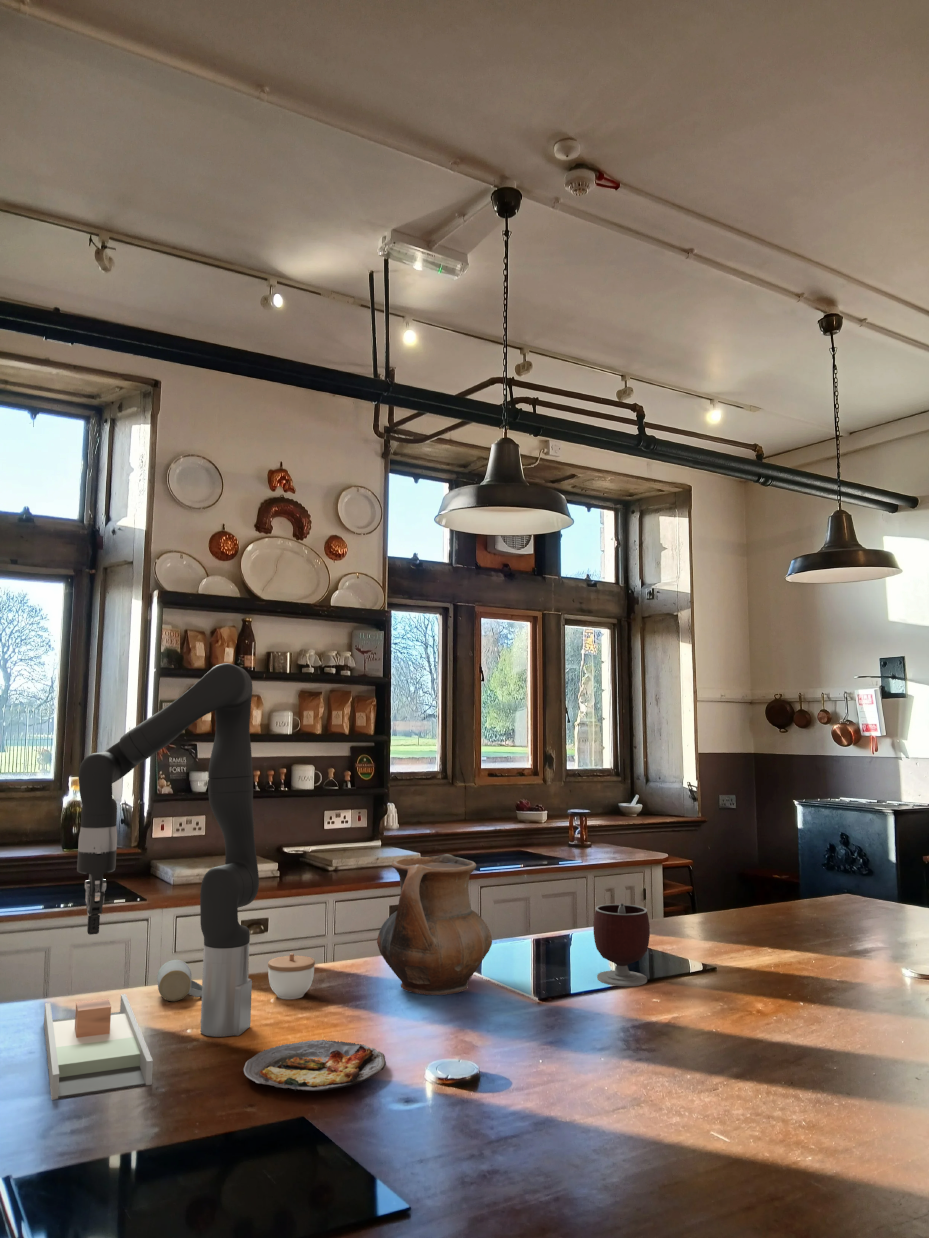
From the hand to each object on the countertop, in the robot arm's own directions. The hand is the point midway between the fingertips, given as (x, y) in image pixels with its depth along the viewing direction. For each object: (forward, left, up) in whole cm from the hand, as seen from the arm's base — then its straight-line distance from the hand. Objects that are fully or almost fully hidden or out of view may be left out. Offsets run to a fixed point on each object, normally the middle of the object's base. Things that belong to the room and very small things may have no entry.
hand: (93, 933), depth 192 cm
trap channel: (-8, +11, -19) cm, 24 cm away
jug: (-64, -46, -19) cm, 80 cm away
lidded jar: (-33, -31, -19) cm, 49 cm away
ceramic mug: (-8, -25, -19) cm, 32 cm away
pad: (-13, +18, -19) cm, 29 cm away
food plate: (-54, +14, -20) cm, 59 cm away
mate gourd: (-109, -59, -19) cm, 125 cm away
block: (-6, +8, -16) cm, 19 cm away
